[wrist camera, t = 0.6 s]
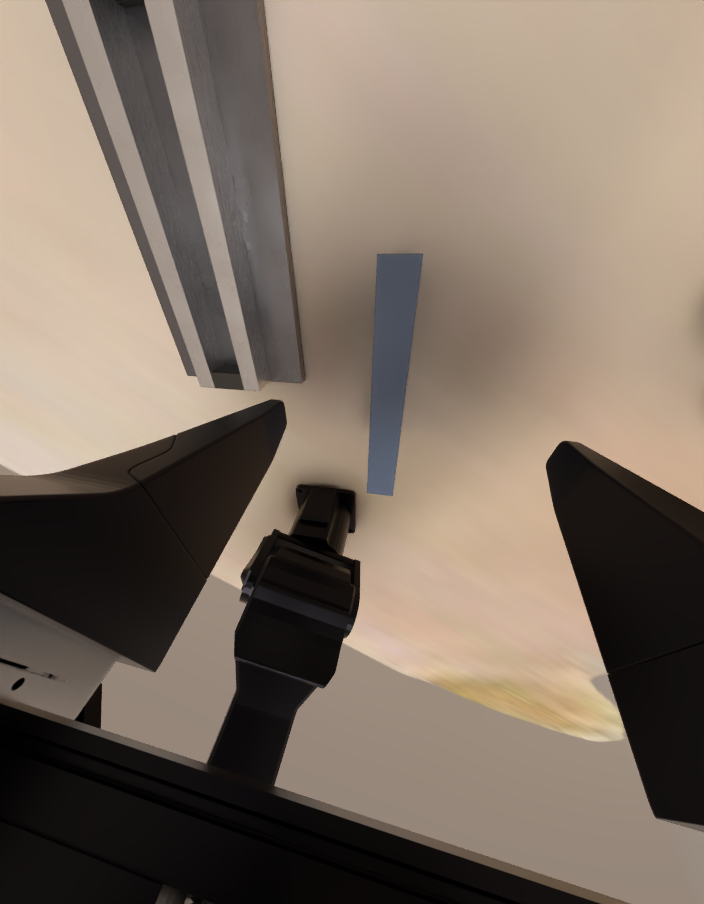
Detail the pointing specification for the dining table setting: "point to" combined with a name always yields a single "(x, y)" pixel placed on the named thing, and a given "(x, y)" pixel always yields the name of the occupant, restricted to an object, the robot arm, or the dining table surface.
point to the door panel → (390, 363)
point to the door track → (196, 172)
